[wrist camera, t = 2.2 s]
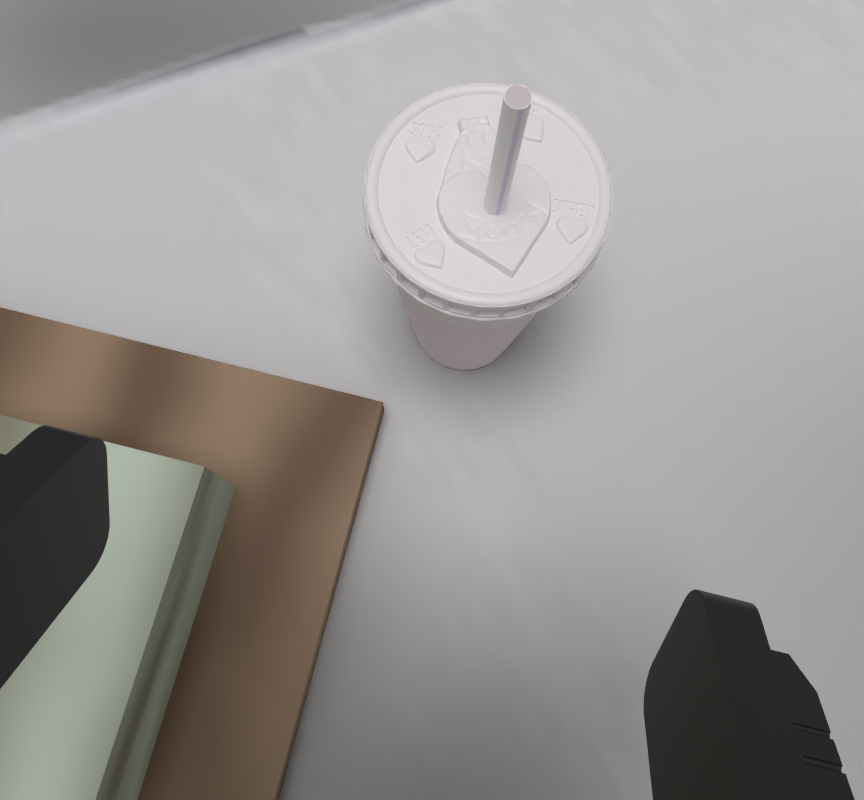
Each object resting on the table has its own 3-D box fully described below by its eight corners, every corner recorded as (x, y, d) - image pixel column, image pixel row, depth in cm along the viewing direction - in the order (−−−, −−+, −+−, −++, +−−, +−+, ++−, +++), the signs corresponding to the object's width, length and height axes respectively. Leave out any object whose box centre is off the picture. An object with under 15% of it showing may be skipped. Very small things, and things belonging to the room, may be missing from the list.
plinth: (383, 410, 27) (377, 369, 22) (230, 971, 23) (180, 1078, 18) (-89, 293, 28) (-199, 227, 23) (-327, 817, 24) (-528, 878, 18)
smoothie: (395, 421, 27) (380, 250, 14) (362, 260, 29) (319, -38, 15) (567, 386, 28) (717, 189, 14) (526, 230, 29) (624, -84, 16)
